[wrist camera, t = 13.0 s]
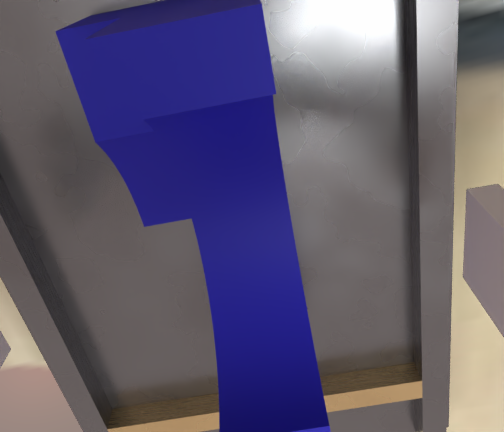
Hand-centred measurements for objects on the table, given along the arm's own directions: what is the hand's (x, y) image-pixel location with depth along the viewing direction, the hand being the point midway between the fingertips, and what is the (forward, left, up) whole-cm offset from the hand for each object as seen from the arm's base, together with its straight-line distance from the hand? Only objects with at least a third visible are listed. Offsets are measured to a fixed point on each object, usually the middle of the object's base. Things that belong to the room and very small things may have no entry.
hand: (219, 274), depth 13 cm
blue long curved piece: (-1, 0, -4) cm, 4 cm away
